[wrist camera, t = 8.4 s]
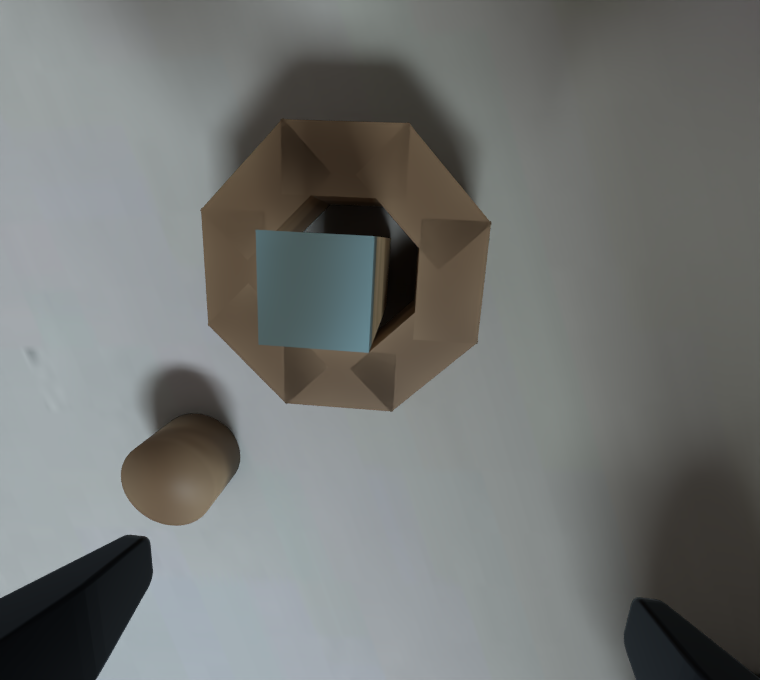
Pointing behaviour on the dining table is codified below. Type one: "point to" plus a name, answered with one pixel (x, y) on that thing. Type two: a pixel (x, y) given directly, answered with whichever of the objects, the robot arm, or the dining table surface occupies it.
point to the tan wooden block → (320, 289)
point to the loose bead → (181, 469)
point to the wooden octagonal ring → (301, 207)
